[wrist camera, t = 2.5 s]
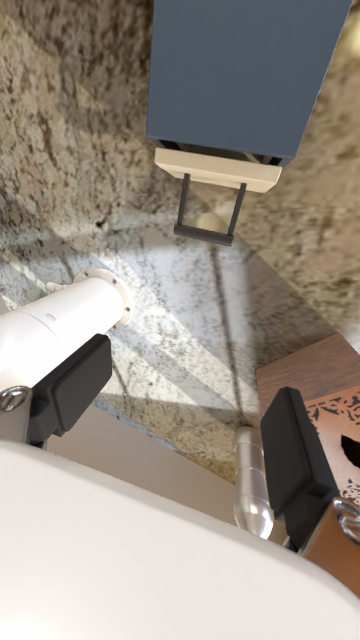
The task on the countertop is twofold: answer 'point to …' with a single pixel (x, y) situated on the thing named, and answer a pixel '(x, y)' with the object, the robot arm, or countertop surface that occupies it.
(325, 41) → the blue cabinet body
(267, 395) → the tissue box cover
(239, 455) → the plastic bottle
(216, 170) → the cabinet drawer
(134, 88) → the countertop surface
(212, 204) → the countertop surface
